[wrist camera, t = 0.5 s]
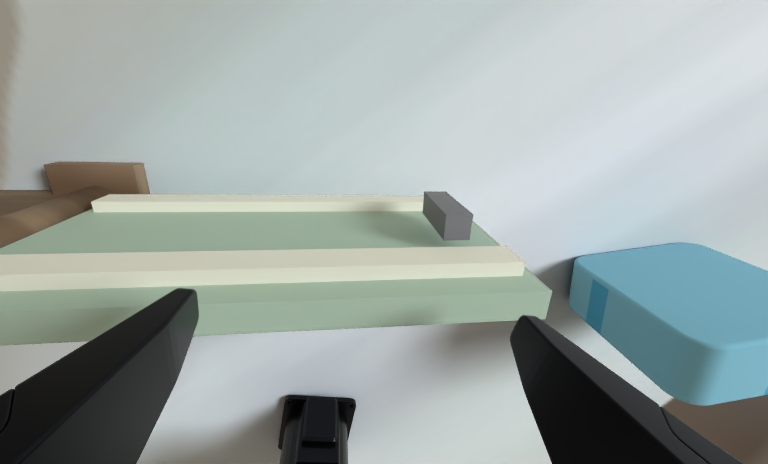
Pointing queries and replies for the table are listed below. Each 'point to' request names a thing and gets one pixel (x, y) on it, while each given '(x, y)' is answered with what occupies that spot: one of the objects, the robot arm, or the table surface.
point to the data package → (680, 317)
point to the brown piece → (65, 195)
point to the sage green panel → (263, 266)
